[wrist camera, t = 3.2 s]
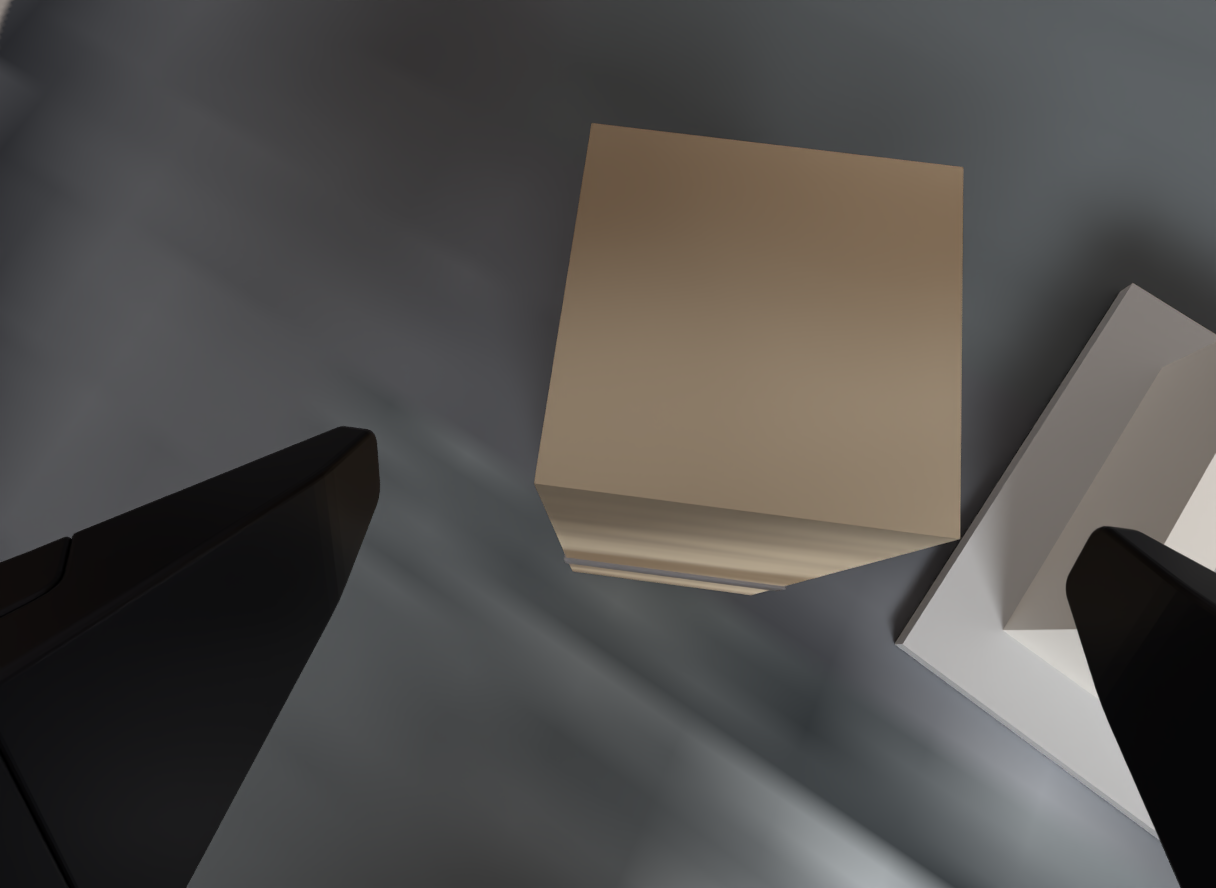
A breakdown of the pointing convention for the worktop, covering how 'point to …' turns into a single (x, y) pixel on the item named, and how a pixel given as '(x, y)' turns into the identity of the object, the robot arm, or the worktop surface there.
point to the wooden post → (754, 363)
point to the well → (1078, 534)
